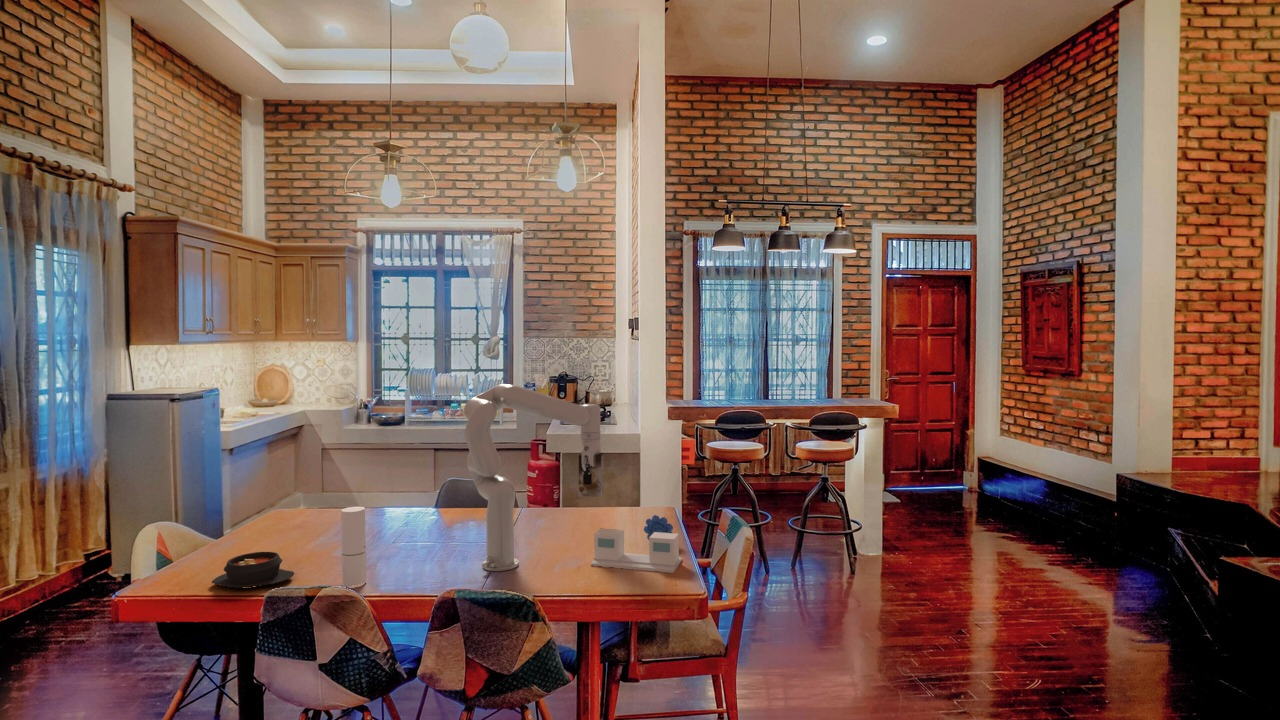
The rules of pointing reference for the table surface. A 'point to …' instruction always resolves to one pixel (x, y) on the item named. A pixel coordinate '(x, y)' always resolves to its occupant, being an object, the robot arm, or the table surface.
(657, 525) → the grapes
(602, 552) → the rail board
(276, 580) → the casserole
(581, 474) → the coffee box
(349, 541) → the cylindrical container
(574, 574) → the table surface
